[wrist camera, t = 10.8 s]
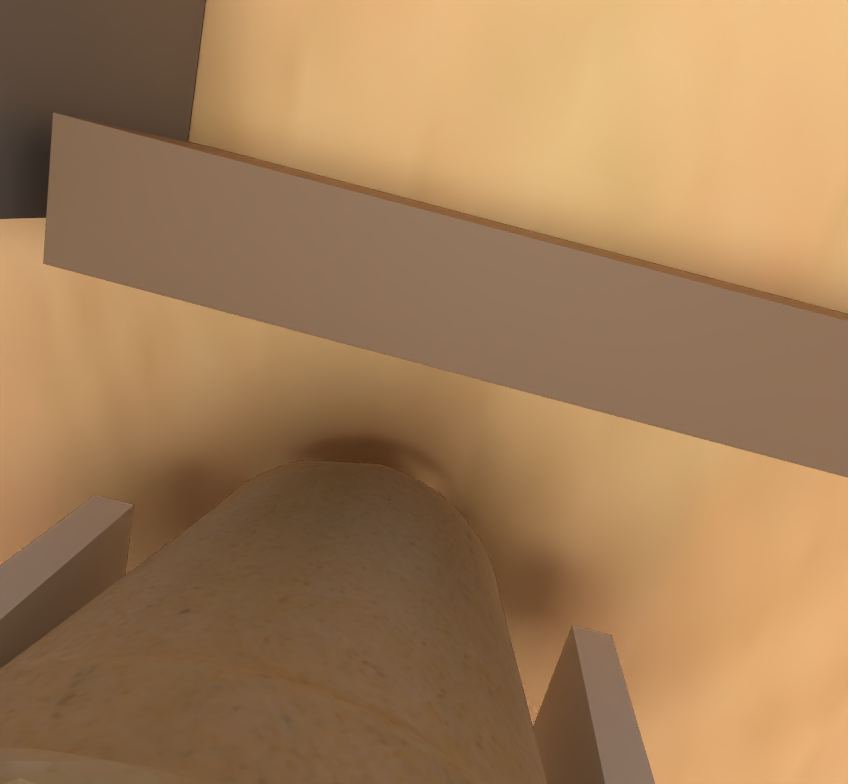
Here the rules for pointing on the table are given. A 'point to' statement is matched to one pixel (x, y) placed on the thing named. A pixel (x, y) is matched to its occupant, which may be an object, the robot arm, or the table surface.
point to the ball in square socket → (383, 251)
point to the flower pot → (284, 651)
